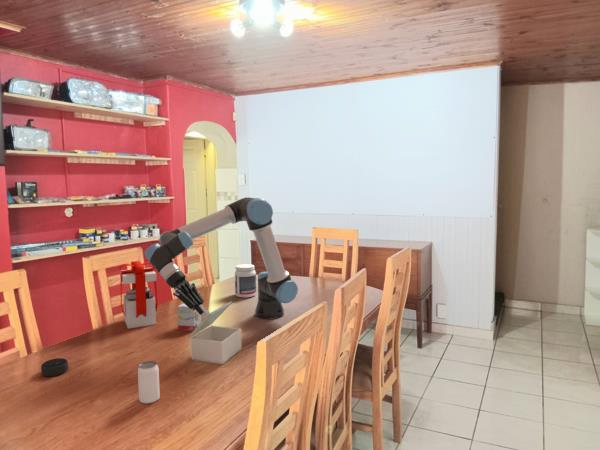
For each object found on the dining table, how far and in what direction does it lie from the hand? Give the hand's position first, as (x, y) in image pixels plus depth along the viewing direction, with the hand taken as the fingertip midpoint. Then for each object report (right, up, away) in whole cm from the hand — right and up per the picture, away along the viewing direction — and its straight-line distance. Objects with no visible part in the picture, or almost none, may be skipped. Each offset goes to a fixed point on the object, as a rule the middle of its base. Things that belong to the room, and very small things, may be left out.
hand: (208, 318), depth 183 cm
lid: (+1, 0, 0) cm, 1 cm away
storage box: (+3, -15, +1) cm, 15 cm away
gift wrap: (-43, -11, +41) cm, 60 cm away
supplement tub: (+4, -5, +90) cm, 90 cm away
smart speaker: (-55, -17, -14) cm, 59 cm away
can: (-12, -19, -35) cm, 42 cm away
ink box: (-16, -12, +33) cm, 38 cm away
